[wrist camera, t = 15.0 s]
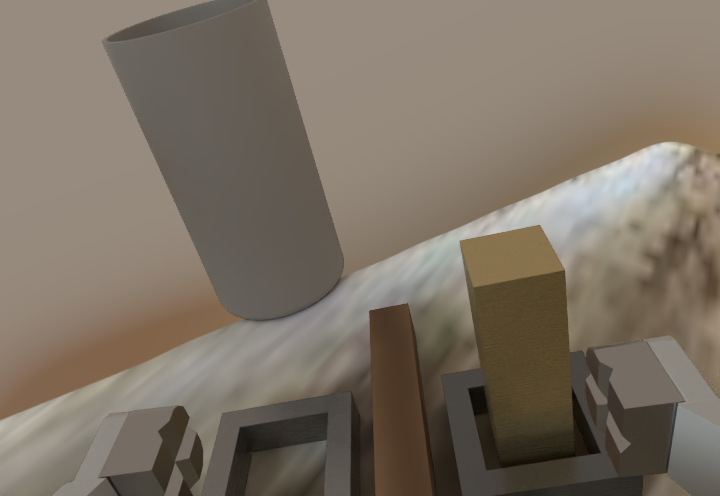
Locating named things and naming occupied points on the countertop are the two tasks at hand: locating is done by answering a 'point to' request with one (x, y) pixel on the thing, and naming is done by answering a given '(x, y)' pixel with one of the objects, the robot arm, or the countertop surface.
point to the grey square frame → (288, 441)
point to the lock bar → (522, 343)
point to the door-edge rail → (398, 407)
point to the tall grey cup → (233, 152)
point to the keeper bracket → (538, 480)
